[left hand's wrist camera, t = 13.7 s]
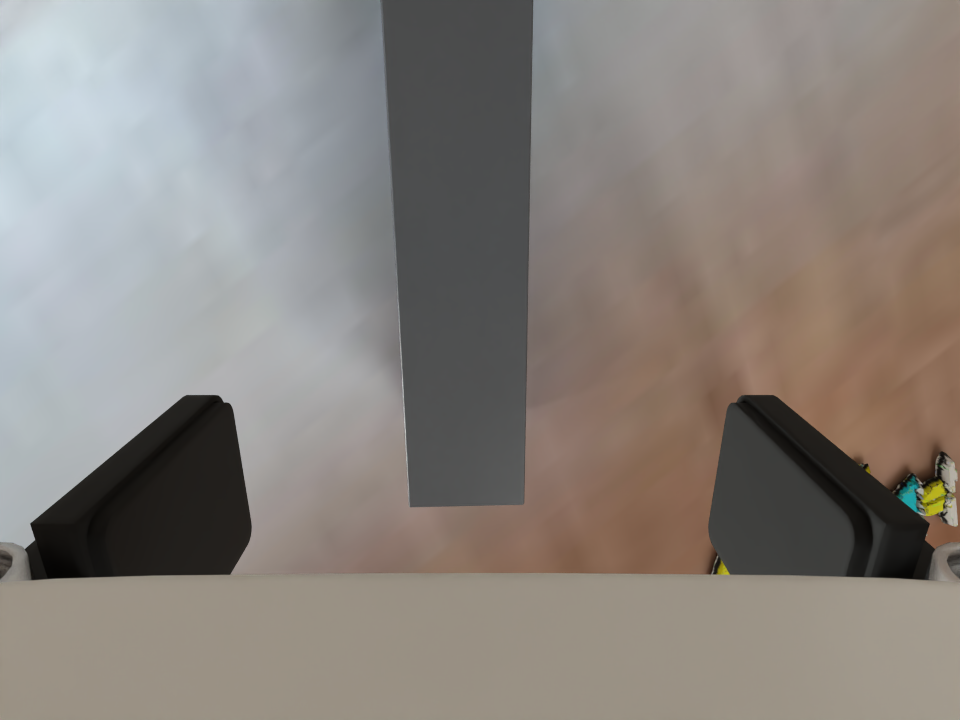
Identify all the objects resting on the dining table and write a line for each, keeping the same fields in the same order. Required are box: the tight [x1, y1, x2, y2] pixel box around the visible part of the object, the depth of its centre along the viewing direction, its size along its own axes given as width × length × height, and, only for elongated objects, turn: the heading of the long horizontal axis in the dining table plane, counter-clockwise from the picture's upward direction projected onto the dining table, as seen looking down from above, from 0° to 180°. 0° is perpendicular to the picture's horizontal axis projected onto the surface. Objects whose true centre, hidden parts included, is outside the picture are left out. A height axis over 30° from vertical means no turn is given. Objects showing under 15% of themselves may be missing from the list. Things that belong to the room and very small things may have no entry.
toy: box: [711, 452, 958, 575], centre depth 34 cm, size 10×1×15 cm
